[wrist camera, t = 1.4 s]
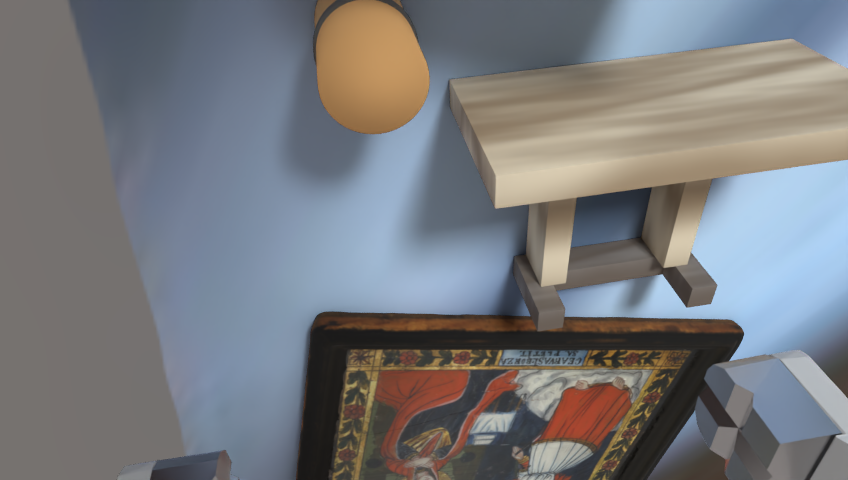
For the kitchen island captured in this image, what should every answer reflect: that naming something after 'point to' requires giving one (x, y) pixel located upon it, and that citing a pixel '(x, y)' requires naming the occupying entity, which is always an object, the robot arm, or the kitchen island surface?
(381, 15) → the banded tan cylinder
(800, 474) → the robot arm
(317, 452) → the framed icon painting
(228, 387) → the kitchen island surface
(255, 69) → the kitchen island surface
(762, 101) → the wooden trestle bench
